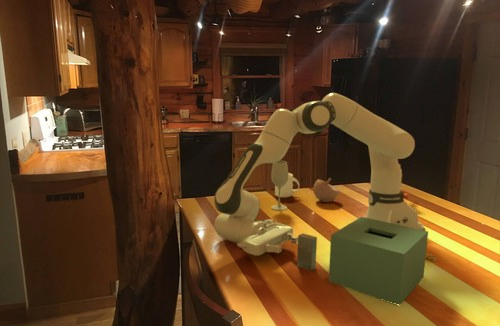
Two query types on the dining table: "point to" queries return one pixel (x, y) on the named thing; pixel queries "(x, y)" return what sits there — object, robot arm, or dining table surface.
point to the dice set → (431, 257)
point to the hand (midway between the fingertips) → (289, 245)
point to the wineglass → (279, 179)
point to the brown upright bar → (307, 251)
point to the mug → (287, 187)
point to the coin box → (378, 258)
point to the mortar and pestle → (325, 191)
